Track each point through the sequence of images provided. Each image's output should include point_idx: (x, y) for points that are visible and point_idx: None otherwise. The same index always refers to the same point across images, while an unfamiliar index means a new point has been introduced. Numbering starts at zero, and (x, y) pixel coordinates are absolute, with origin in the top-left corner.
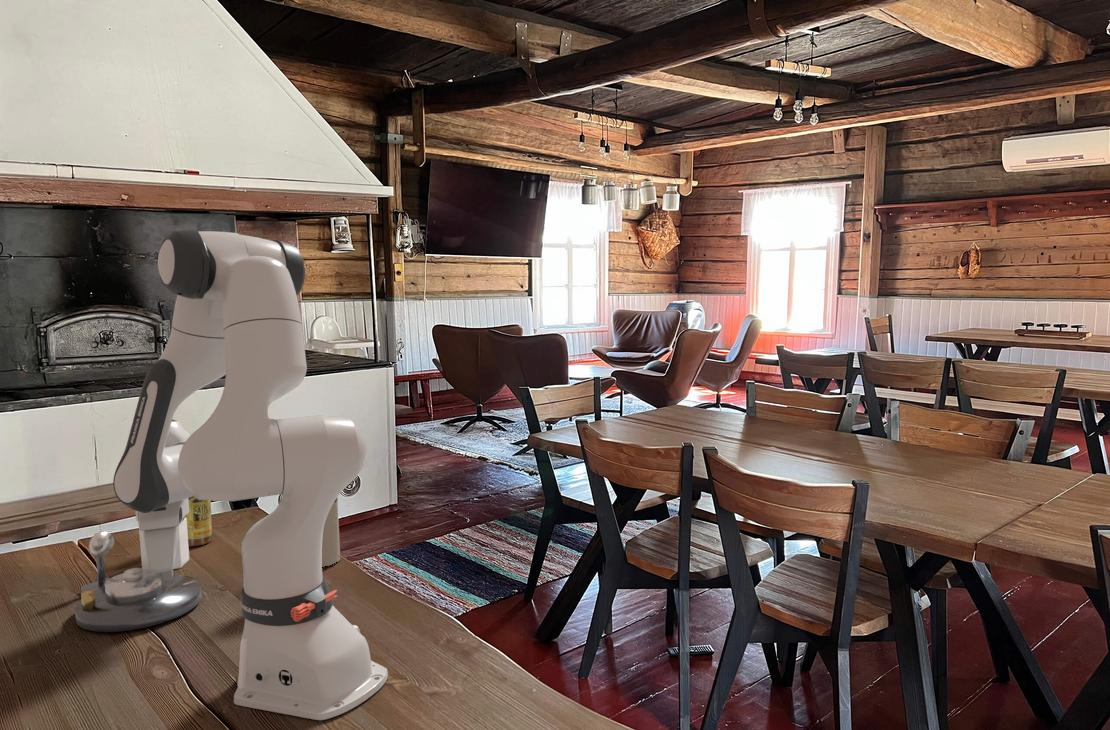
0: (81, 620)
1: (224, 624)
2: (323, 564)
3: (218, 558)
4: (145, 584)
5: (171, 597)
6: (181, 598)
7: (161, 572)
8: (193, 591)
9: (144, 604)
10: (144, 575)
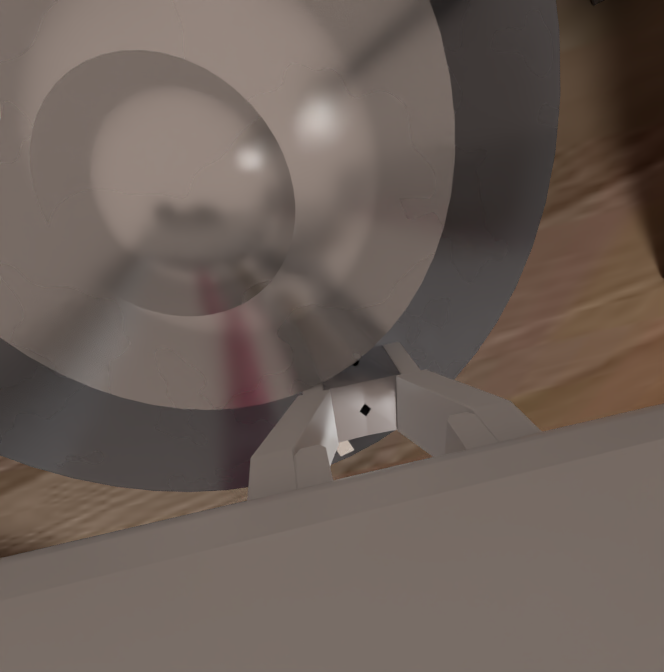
0: None
1: (38, 545)
2: None
3: (659, 387)
4: (31, 354)
5: (149, 411)
6: (131, 455)
7: (296, 400)
8: (218, 474)
9: None
10: (280, 281)
